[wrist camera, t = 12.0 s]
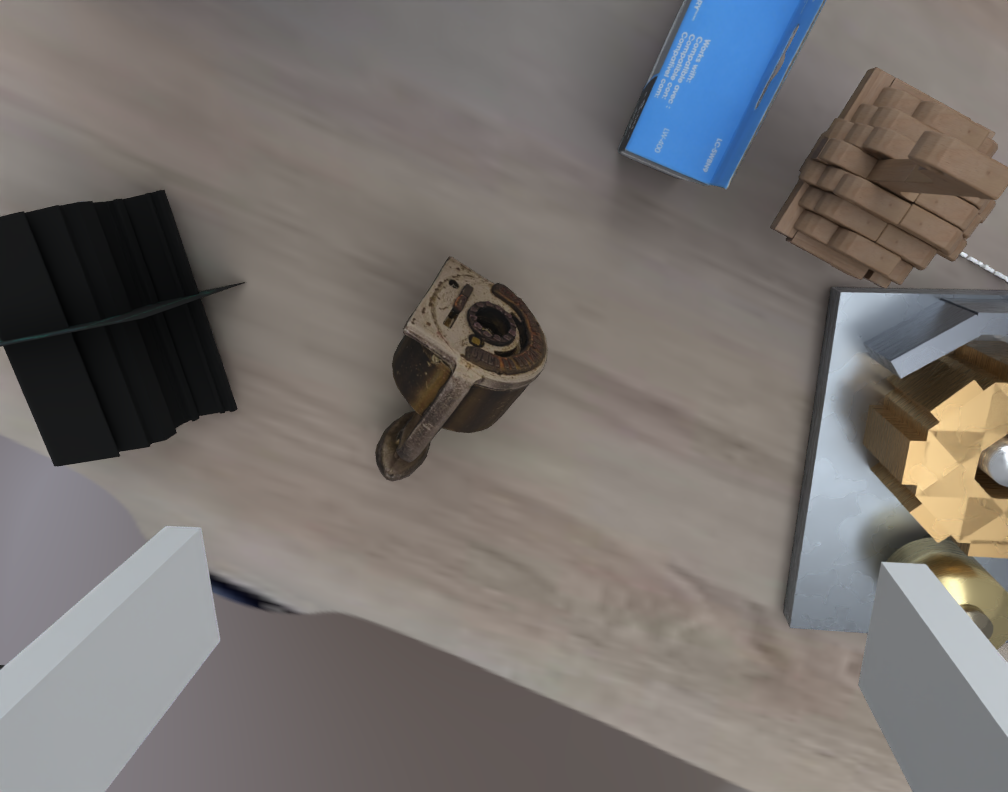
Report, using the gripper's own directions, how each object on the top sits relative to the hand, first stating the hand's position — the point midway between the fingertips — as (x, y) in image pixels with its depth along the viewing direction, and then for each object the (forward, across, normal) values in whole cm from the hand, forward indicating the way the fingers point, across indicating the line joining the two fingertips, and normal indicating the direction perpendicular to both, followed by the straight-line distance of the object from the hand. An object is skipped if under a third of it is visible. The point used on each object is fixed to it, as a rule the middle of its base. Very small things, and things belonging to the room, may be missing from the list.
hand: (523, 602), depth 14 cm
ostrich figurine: (+27, +17, +4) cm, 32 cm away
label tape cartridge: (+27, +6, +12) cm, 30 cm away
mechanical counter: (+27, -5, -3) cm, 28 cm away
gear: (+25, +21, -5) cm, 33 cm away
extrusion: (+27, -24, 0) cm, 36 cm away
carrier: (+26, +21, -8) cm, 35 cm away
